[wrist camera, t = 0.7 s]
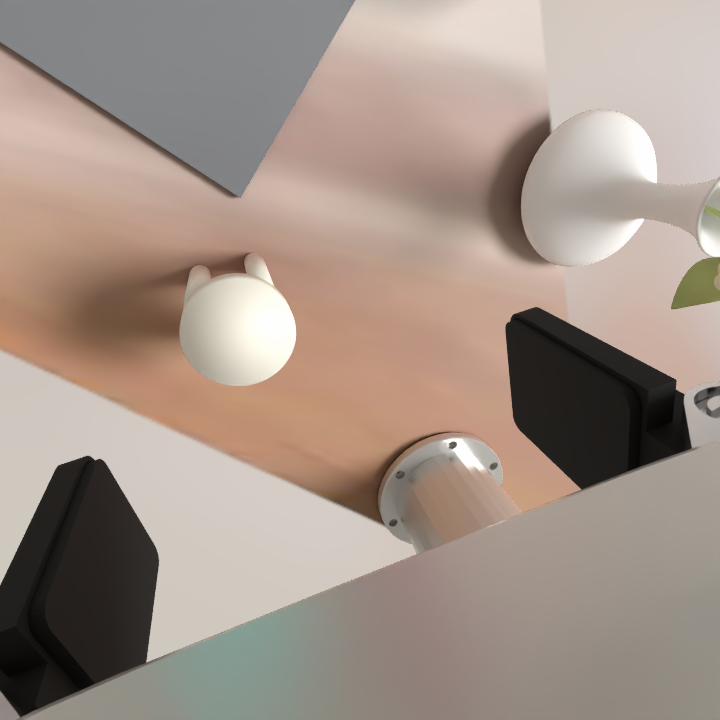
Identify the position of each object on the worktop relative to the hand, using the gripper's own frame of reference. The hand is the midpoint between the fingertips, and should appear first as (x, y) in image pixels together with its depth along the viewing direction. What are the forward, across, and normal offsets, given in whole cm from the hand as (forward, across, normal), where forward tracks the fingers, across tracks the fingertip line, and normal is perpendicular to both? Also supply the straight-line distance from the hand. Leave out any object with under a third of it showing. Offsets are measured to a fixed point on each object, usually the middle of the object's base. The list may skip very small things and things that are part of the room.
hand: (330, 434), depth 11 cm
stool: (+26, +2, +4) cm, 26 cm away
